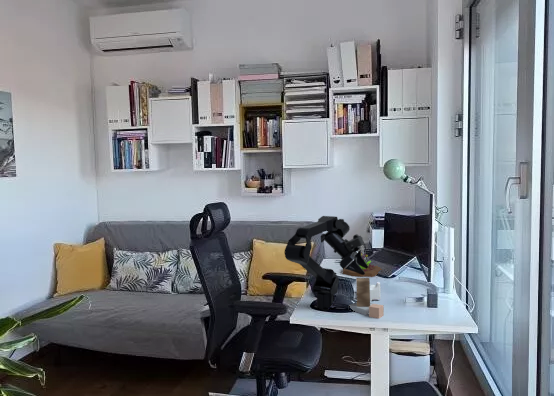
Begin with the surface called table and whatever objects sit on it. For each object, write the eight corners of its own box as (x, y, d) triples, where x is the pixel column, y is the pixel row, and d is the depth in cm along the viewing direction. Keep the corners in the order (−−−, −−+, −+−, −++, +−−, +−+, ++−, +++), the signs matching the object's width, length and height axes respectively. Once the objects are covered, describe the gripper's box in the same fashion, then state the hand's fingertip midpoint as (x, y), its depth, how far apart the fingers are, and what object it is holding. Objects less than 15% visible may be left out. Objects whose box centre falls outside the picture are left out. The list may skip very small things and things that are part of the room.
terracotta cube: (379, 318, 173) (378, 308, 173) (369, 316, 175) (368, 306, 175) (383, 315, 176) (383, 305, 176) (373, 313, 178) (373, 303, 178)
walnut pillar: (356, 306, 181) (356, 281, 180) (357, 302, 186) (356, 277, 185) (370, 306, 180) (369, 281, 180) (369, 302, 185) (369, 277, 184)
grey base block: (365, 316, 178) (365, 309, 177) (349, 311, 184) (348, 305, 184) (378, 311, 183) (378, 304, 182) (362, 306, 189) (362, 300, 189)
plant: (337, 276, 238) (337, 254, 238) (347, 267, 256) (347, 247, 255) (377, 278, 231) (377, 256, 230) (384, 269, 248) (384, 249, 247)
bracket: (380, 301, 194) (380, 283, 193) (363, 302, 194) (363, 284, 194) (374, 292, 207) (374, 275, 206) (358, 293, 207) (358, 276, 207)
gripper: (347, 234, 179) (377, 263, 176) (354, 225, 196) (382, 251, 194) (327, 254, 182) (357, 283, 180) (336, 243, 200) (363, 269, 197)
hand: (365, 270), depth 188 cm, fingers open, 9 cm apart
